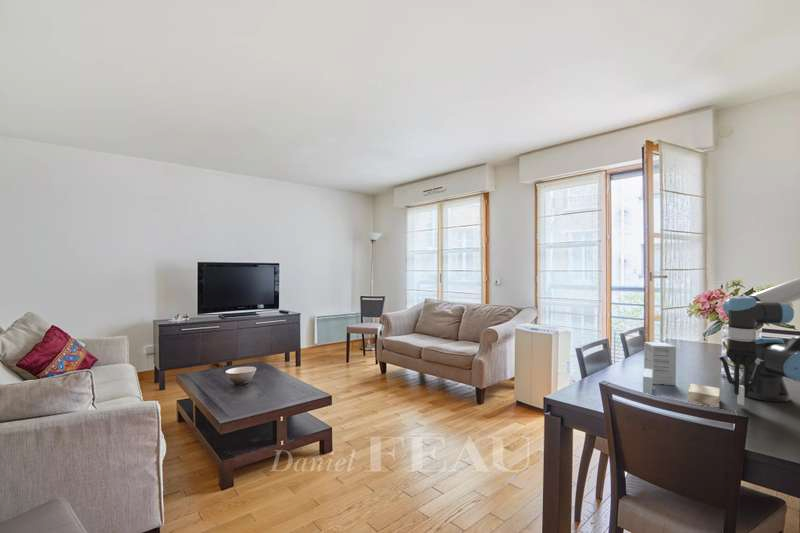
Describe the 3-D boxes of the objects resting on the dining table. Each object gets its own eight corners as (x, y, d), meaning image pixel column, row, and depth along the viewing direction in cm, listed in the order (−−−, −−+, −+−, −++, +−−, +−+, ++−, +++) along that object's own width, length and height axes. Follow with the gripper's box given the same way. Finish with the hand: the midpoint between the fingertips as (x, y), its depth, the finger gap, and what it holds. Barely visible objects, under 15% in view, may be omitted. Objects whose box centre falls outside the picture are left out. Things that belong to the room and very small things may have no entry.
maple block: (719, 401, 149) (719, 388, 149) (718, 410, 140) (719, 396, 140) (690, 395, 155) (690, 383, 155) (688, 404, 146) (688, 391, 146)
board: (652, 388, 163) (652, 369, 163) (652, 398, 151) (652, 377, 151) (644, 386, 165) (644, 368, 165) (643, 396, 153) (643, 376, 153)
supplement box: (676, 385, 166) (676, 346, 166) (652, 384, 168) (652, 345, 168) (665, 379, 176) (666, 342, 175) (643, 378, 177) (643, 341, 177)
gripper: (763, 339, 141) (762, 404, 141) (717, 335, 148) (716, 397, 148) (768, 343, 134) (767, 410, 135) (720, 339, 142) (719, 403, 142)
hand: (740, 403), depth 141 cm, fingers closed
